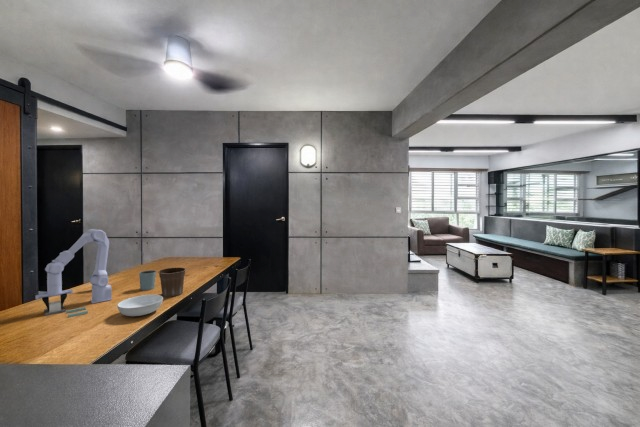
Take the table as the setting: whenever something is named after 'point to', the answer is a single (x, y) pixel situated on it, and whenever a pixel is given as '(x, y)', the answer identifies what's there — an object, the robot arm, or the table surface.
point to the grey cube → (54, 306)
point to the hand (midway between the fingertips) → (54, 309)
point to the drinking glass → (147, 280)
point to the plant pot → (172, 281)
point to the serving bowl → (140, 305)
